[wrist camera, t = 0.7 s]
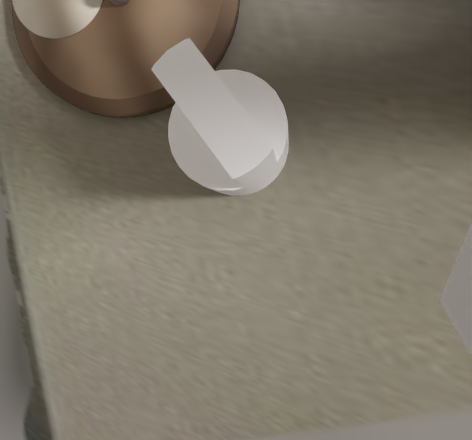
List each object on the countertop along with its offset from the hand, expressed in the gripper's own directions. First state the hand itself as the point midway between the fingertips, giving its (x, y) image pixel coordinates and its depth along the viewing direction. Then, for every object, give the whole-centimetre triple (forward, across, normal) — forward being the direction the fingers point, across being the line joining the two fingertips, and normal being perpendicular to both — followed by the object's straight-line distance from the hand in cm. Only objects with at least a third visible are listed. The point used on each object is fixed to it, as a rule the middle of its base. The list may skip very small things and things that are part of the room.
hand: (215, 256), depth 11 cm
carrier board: (+34, -10, +2) cm, 36 cm away
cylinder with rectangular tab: (+26, +1, -8) cm, 27 cm away
